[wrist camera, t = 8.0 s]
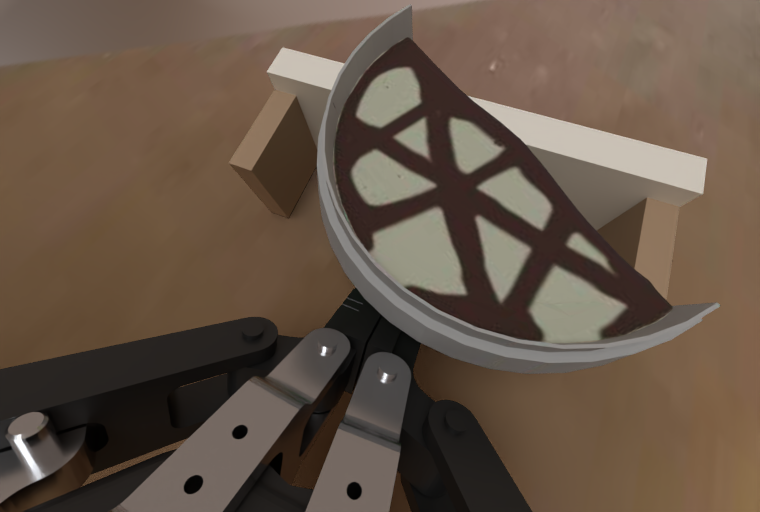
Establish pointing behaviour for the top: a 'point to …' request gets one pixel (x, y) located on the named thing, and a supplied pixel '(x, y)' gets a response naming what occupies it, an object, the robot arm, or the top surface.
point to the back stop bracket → (540, 133)
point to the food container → (470, 225)
